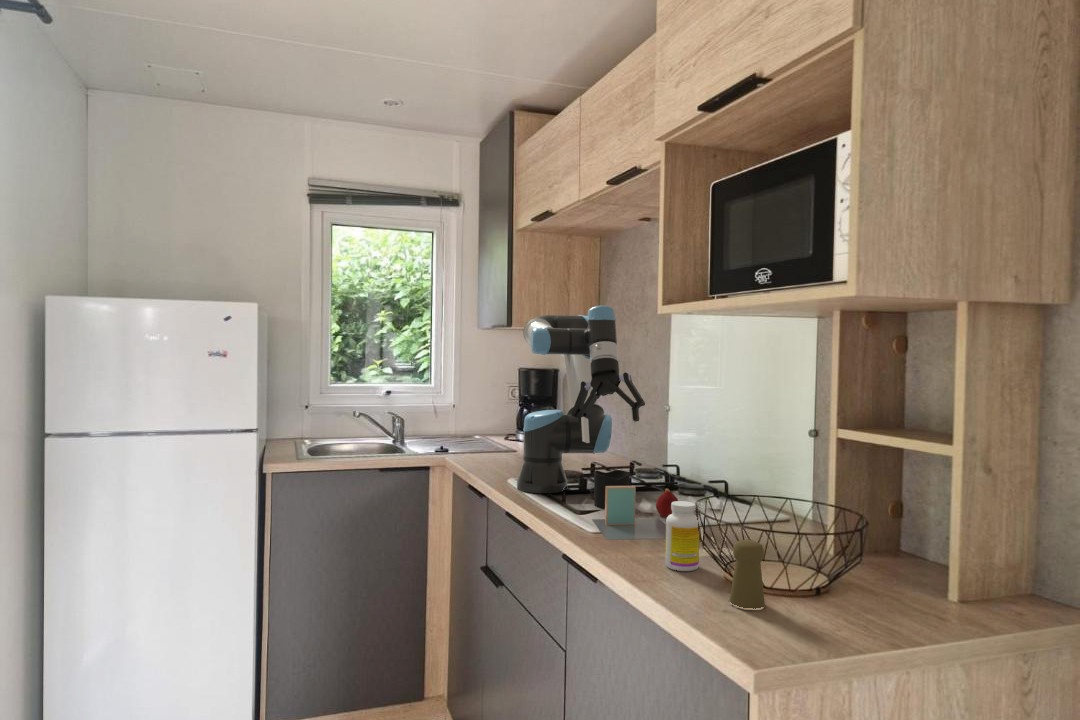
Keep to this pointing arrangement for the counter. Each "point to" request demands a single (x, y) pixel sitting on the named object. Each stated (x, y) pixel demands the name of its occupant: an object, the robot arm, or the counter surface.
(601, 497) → the pen holder
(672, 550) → the supplement bottle
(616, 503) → the tile
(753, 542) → the cork
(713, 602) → the counter surface
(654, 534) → the slate board
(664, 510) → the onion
